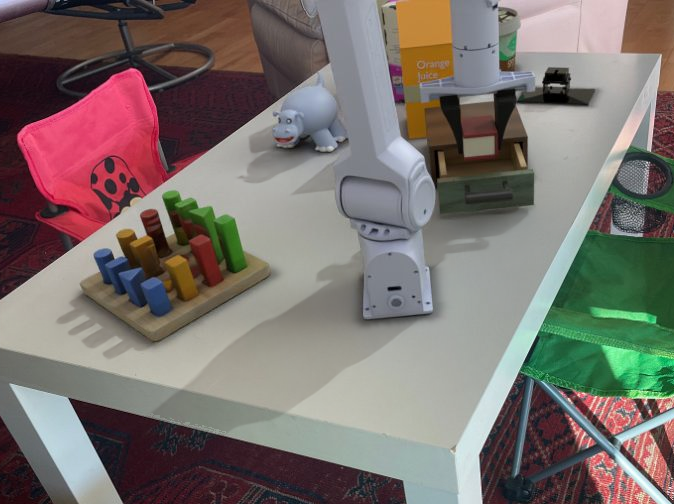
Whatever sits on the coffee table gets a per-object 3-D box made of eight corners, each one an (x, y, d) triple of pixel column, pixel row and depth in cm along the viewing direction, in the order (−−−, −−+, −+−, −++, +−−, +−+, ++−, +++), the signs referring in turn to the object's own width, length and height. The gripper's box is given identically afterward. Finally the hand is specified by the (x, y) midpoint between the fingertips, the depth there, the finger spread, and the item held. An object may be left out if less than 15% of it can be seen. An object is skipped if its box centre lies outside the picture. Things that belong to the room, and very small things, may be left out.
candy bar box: (457, 93, 137) (451, -4, 126) (450, 103, 133) (444, 4, 123) (399, 92, 140) (389, -3, 129) (391, 102, 136) (380, 5, 126)
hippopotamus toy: (258, 161, 122) (244, 103, 116) (304, 124, 132) (293, 69, 126) (315, 167, 118) (304, 108, 112) (358, 129, 128) (349, 72, 122)
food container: (517, 81, 139) (517, 24, 132) (484, 82, 140) (482, 25, 133) (524, 59, 148) (524, 4, 141) (493, 60, 149) (491, 5, 142)
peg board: (81, 293, 95) (54, 234, 90) (195, 235, 104) (177, 178, 99) (155, 343, 86) (129, 280, 80) (273, 274, 95) (258, 214, 89)
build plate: (516, 103, 131) (516, 76, 128) (526, 88, 136) (526, 62, 133) (588, 105, 127) (589, 78, 124) (595, 90, 132) (596, 63, 129)
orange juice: (407, 121, 129) (394, -5, 116) (458, 115, 129) (451, -11, 116) (408, 139, 123) (395, 8, 110) (462, 134, 123) (454, 2, 110)
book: (498, 157, 98) (497, 132, 96) (464, 160, 98) (463, 135, 96) (493, 139, 103) (492, 114, 100) (461, 142, 103) (459, 118, 101)
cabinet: (527, 178, 108) (527, 136, 104) (432, 188, 109) (428, 146, 105) (514, 138, 119) (513, 98, 115) (427, 147, 120) (424, 108, 116)
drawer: (538, 219, 98) (539, 186, 95) (441, 229, 98) (439, 196, 95) (519, 162, 111) (519, 131, 108) (434, 171, 111) (432, 141, 108)
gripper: (529, 27, 94) (528, 131, 103) (415, 39, 95) (424, 142, 104) (538, 44, 89) (537, 152, 98) (417, 57, 89) (426, 163, 98)
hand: (479, 149), depth 100 cm, fingers closed on book, 4 cm apart
